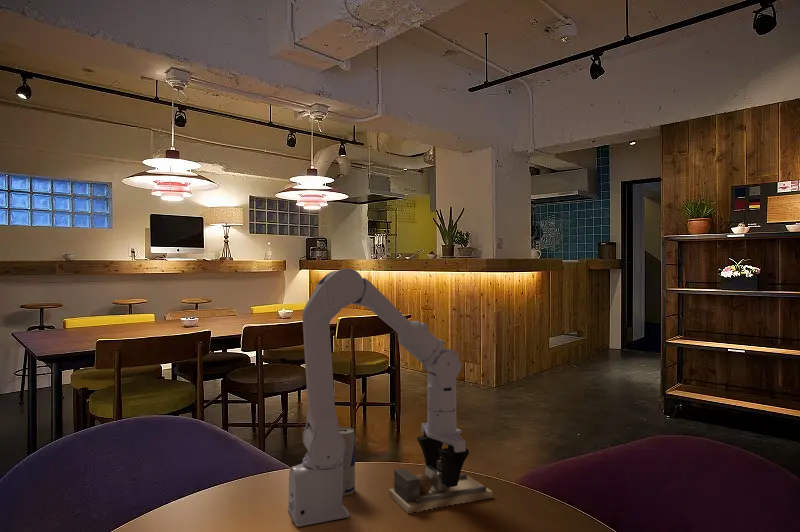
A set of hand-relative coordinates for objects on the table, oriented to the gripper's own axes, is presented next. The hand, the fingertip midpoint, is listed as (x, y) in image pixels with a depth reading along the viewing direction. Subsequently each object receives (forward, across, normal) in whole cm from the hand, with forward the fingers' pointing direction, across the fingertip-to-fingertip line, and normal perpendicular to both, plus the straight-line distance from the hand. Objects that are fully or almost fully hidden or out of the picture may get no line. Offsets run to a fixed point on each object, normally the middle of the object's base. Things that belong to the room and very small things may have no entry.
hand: (442, 479), depth 96 cm
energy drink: (+3, +10, +17) cm, 20 cm away
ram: (+2, 0, +1) cm, 2 cm away
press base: (+3, 0, 0) cm, 3 cm away
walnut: (+2, 0, +4) cm, 5 cm away
